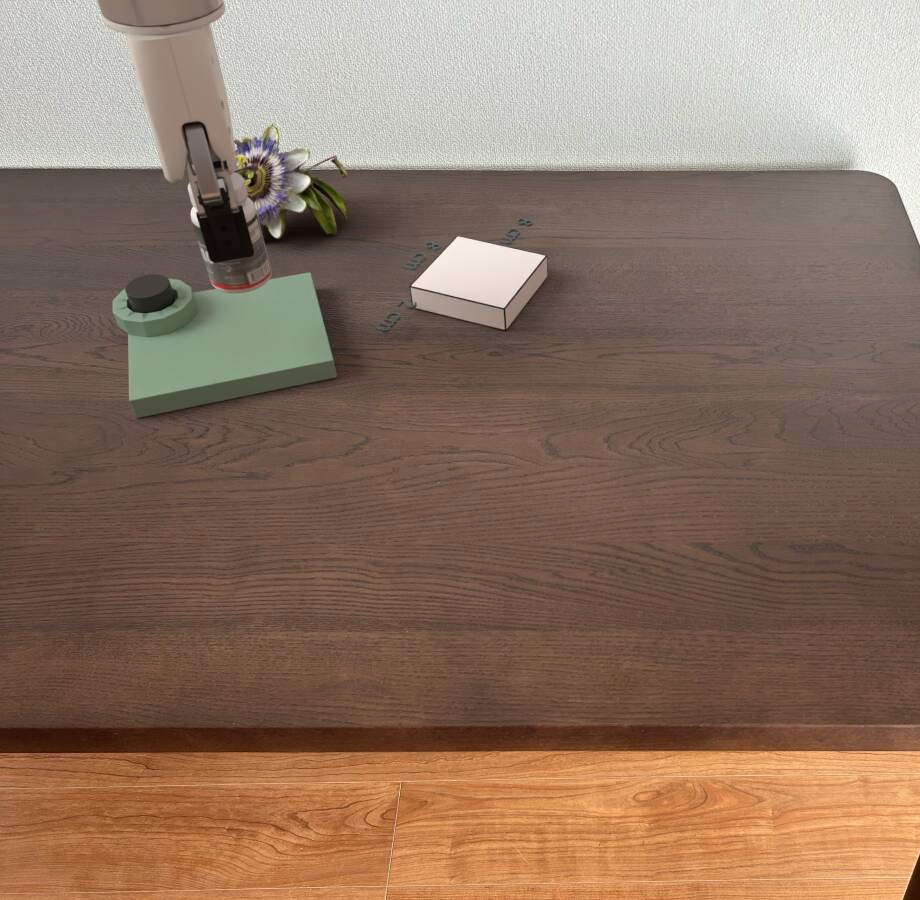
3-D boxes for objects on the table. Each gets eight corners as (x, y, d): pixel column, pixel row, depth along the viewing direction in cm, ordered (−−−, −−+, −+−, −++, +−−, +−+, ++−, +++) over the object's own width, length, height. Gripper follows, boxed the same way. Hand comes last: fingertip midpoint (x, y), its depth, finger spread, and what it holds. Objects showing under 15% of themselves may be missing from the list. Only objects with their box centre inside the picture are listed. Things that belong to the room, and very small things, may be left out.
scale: (126, 420, 77) (111, 387, 75) (125, 318, 88) (112, 285, 85) (337, 377, 82) (330, 344, 79) (313, 284, 92) (306, 252, 89)
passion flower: (272, 285, 101) (176, 201, 94) (314, 218, 107) (228, 134, 101) (337, 251, 94) (240, 158, 88) (379, 181, 100) (291, 89, 94)
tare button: (131, 318, 82) (125, 301, 81) (131, 295, 85) (124, 278, 84) (176, 310, 83) (170, 293, 82) (174, 287, 86) (168, 270, 85)
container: (479, 365, 83) (476, 340, 81) (363, 335, 86) (358, 311, 84) (569, 249, 97) (568, 226, 95) (466, 227, 100) (464, 203, 98)
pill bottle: (209, 269, 78) (179, 173, 73) (268, 258, 80) (244, 163, 74) (213, 300, 75) (183, 202, 69) (276, 288, 76) (251, 191, 71)
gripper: (98, -43, 67) (174, 195, 80) (94, 46, 56) (184, 309, 68) (211, -53, 69) (268, 181, 82) (230, 31, 57) (293, 289, 70)
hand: (229, 237), depth 75 cm, fingers closed on pill bottle, 4 cm apart
